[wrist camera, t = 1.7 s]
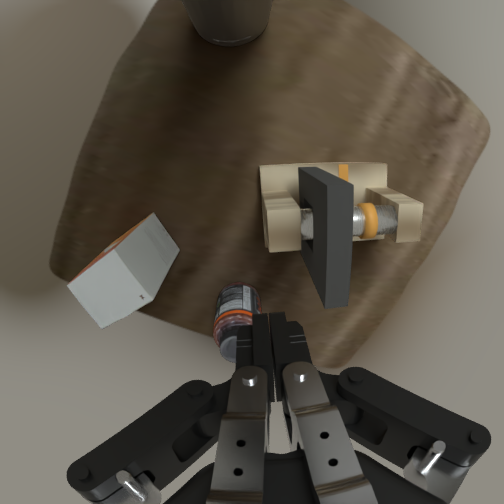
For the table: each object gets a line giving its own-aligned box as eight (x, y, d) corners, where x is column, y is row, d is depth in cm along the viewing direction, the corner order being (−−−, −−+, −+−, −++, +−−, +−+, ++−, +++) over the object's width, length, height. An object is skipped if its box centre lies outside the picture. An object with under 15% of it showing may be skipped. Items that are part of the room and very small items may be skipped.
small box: (153, 210, 37) (114, 247, 25) (181, 250, 39) (155, 301, 27) (111, 242, 38) (64, 286, 26) (137, 277, 40) (102, 331, 28)
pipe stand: (259, 165, 35) (265, 177, 25) (382, 162, 35) (426, 175, 25) (264, 243, 39) (271, 282, 29) (379, 235, 39) (417, 267, 29)
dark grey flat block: (297, 167, 31) (327, 185, 20) (315, 166, 31) (353, 184, 20) (300, 252, 35) (324, 308, 24) (317, 251, 35) (347, 306, 24)
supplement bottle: (262, 314, 43) (266, 368, 32) (221, 318, 43) (215, 372, 33) (258, 278, 41) (263, 327, 30) (215, 282, 41) (206, 332, 30)
